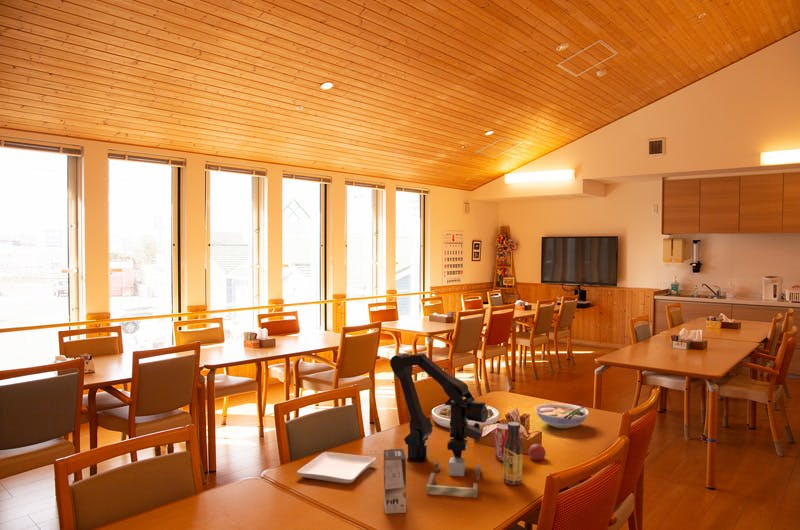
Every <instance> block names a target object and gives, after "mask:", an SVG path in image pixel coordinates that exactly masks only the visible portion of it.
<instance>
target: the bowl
mask: <svg viewBox="0 0 800 530" xmlns="http://www.w3.org/2000/svg"><path fill="white" fill-rule="evenodd" d="M464 399H466V398H465V397H464V398H463V400H464ZM475 402H477V401H475ZM485 406H486V407H487V410H488V417H487V420H486V422H485V423H483V422H476V421H470V420H468V419H466V420H467V421H468V424H469V425H472V426H473V425H474V424H475V423H478V424H480V426H482V425H486V424H493V423H495V424H496V423H497V421H498V420H499V417H500V411H499V410H497V409H496V408H495V407H492V406H489V405H486V404H485ZM431 416H432V419H433V420H434V422H435V423H437V424H438V425H439V426H441V427H444V428H447V429H450V405H445V404H441V405H440V404H439V405H438V406H436V407H434V408H433V409H432V410H431Z"/></svg>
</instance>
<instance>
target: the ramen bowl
mask: <svg viewBox="0 0 800 530" xmlns="http://www.w3.org/2000/svg"><path fill="white" fill-rule="evenodd" d="M585 407H586V404H584V405H582V406H579V405H574V404H570V403H560V402H559V403H543V404H540V405H539V404H538V405H536V406H535V407H534V410H535V412H536V414H537V415H538V417H539V419H540V420H541V421H542V422H543V423H545V424H547V425H549V426H552V427H553V428H554V429H557V430H558V429H559V430H569V429H570V428H574V427H576V426H579V425H580V424H582V423H583V422H584V421H585V420H586V418H587V416H588V414H589V413H590V412H589V410H588V409H587V408H585Z"/></svg>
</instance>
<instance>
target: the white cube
mask: <svg viewBox="0 0 800 530" xmlns="http://www.w3.org/2000/svg"><path fill="white" fill-rule="evenodd" d="M465 471H466V458H464V457H461V458H455V457H450V459H449V461H448V475H449V476H457V477H464V476H465V473H466V472H465Z"/></svg>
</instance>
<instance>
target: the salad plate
mask: <svg viewBox="0 0 800 530" xmlns="http://www.w3.org/2000/svg"><path fill="white" fill-rule="evenodd" d="M376 460H377V457H374V456H366V455H360V454H359V455H358V454H349V453H341V452H340V453H339V452H331V451H330V452H329V451H324V452H322V453H321V454H319V455H317V456H316V457H315V458H313V459H312V460H310V462H308V463H307V464H305V465H303V467H301V468H299V469H298V470H297V471H296V472H297V474H298V475H300V476H301V477H304V478H307V479H311V480H312V479H313V480H319V481H326V482H332V483H338V484H339V483H340V484H351V483H353V482H354V481H356V479H357V478H358V477H359V476H360V475H361V474H362V473H363V472H365V471H366V470H367V469H368V468H369V467H371V466H372V465H373V464H374V463H375V462H376Z"/></svg>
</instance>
